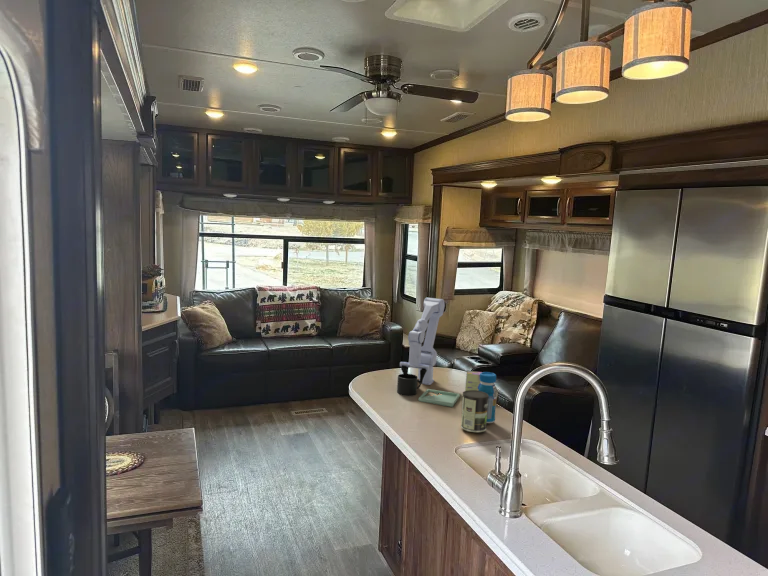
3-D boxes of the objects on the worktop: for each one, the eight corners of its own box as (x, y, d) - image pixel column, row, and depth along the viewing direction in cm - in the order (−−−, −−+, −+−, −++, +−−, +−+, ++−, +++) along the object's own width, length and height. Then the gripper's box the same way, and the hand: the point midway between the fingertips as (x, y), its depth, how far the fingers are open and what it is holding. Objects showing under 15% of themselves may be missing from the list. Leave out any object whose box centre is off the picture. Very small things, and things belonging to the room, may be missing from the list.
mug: (424, 396, 245) (425, 378, 244) (401, 398, 241) (402, 379, 240) (416, 390, 254) (417, 372, 253) (393, 392, 249) (394, 374, 249)
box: (486, 395, 251) (487, 372, 250) (487, 399, 246) (489, 375, 244) (464, 394, 252) (466, 370, 251) (465, 397, 247) (467, 373, 245)
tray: (427, 392, 252) (427, 388, 252) (459, 397, 247) (459, 393, 246) (418, 401, 237) (418, 398, 237) (452, 407, 232) (452, 403, 231)
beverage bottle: (480, 424, 212) (483, 376, 210) (471, 417, 220) (474, 371, 218) (498, 423, 214) (502, 376, 212) (489, 416, 222) (492, 371, 220)
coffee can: (486, 424, 212) (488, 391, 210) (486, 434, 201) (488, 399, 200) (461, 421, 214) (463, 388, 212) (459, 430, 203) (462, 396, 202)
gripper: (398, 354, 250) (396, 382, 251) (427, 358, 245) (425, 386, 246) (402, 352, 257) (401, 378, 258) (431, 355, 252) (429, 382, 253)
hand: (413, 382), depth 253 cm, fingers open, 7 cm apart
